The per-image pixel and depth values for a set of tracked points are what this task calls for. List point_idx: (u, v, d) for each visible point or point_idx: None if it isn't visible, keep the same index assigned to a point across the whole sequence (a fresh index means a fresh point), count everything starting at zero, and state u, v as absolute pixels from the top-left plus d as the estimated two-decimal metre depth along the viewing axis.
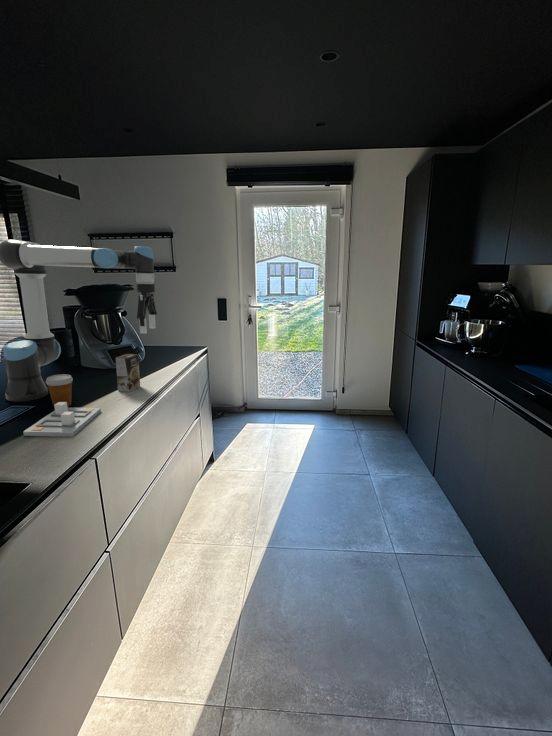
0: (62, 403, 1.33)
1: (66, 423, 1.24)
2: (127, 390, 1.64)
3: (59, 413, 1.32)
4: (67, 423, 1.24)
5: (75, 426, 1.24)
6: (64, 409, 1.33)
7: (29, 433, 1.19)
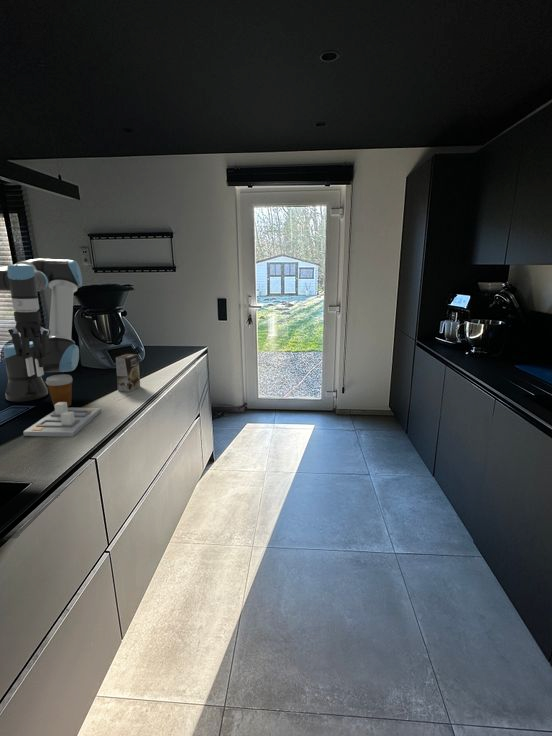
0: (62, 403, 1.33)
1: (66, 423, 1.24)
2: (127, 390, 1.64)
3: (59, 413, 1.32)
4: (67, 423, 1.24)
5: (75, 426, 1.24)
6: (64, 409, 1.33)
7: (29, 433, 1.19)
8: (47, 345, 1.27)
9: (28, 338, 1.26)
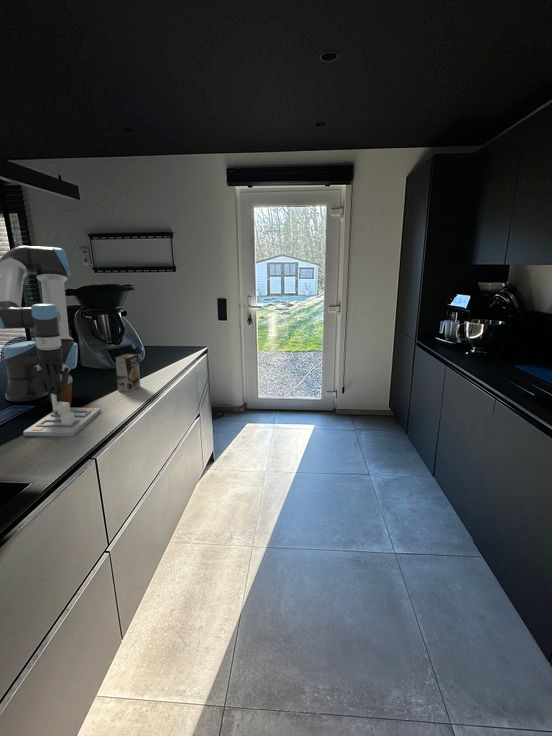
0: (64, 403, 1.33)
1: (66, 423, 1.24)
2: (127, 390, 1.64)
3: (61, 413, 1.32)
4: (67, 423, 1.24)
5: (75, 426, 1.24)
6: (66, 409, 1.33)
7: (29, 433, 1.19)
8: (66, 381, 1.31)
9: (51, 373, 1.30)
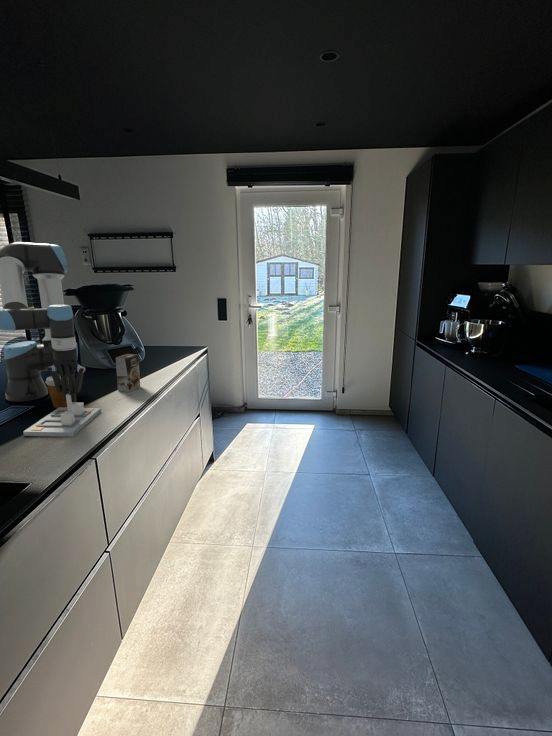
0: (79, 403, 1.33)
1: (66, 423, 1.24)
2: (127, 390, 1.64)
3: (76, 413, 1.33)
4: (67, 423, 1.24)
5: (75, 426, 1.24)
6: (81, 409, 1.33)
7: (29, 433, 1.19)
8: (81, 381, 1.31)
9: (66, 374, 1.30)
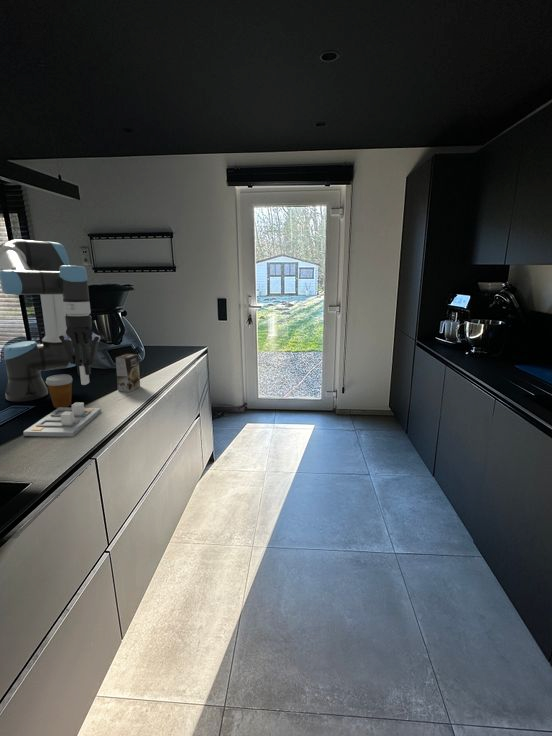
0: (79, 403, 1.33)
1: (66, 423, 1.24)
2: (127, 390, 1.64)
3: (76, 413, 1.33)
4: (67, 423, 1.24)
5: (75, 426, 1.24)
6: (81, 409, 1.33)
7: (29, 433, 1.19)
8: (96, 352, 1.20)
9: (79, 344, 1.19)
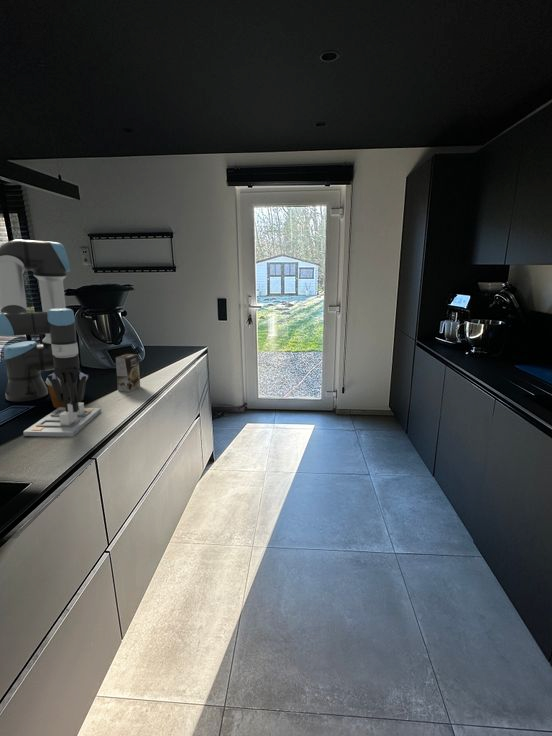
0: (79, 403, 1.33)
1: (65, 423, 1.24)
2: (127, 390, 1.64)
3: None
4: (66, 423, 1.24)
5: (75, 426, 1.24)
6: (81, 409, 1.33)
7: (29, 433, 1.19)
8: (83, 390, 1.23)
9: (67, 382, 1.22)
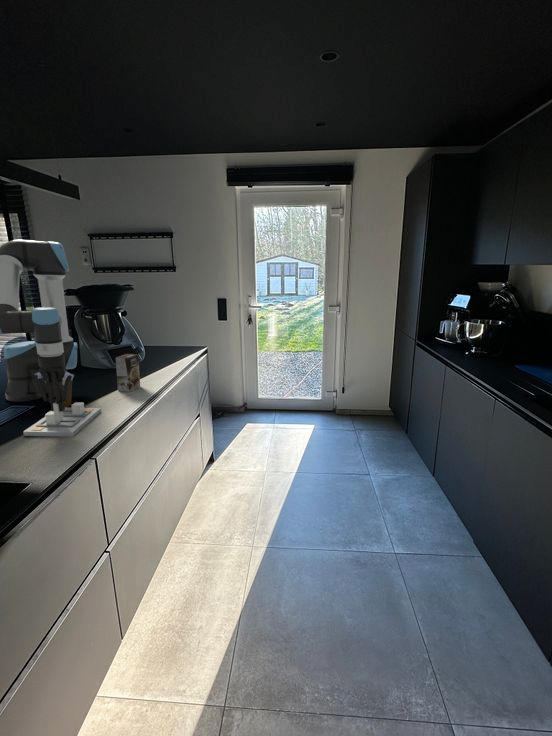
0: (79, 403, 1.33)
1: (51, 423, 1.24)
2: (127, 390, 1.64)
3: (76, 413, 1.33)
4: (52, 423, 1.24)
5: (75, 426, 1.24)
6: (81, 409, 1.33)
7: (29, 433, 1.19)
8: (69, 389, 1.23)
9: (53, 382, 1.22)
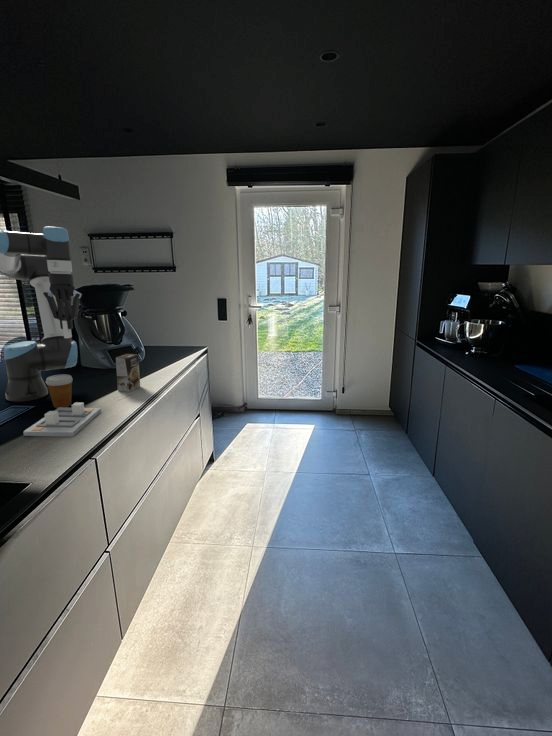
0: (79, 403, 1.33)
1: (50, 423, 1.24)
2: (127, 390, 1.64)
3: (76, 413, 1.33)
4: (51, 423, 1.24)
5: (75, 426, 1.24)
6: (81, 409, 1.33)
7: (29, 433, 1.19)
8: (77, 308, 1.31)
9: (62, 300, 1.31)
